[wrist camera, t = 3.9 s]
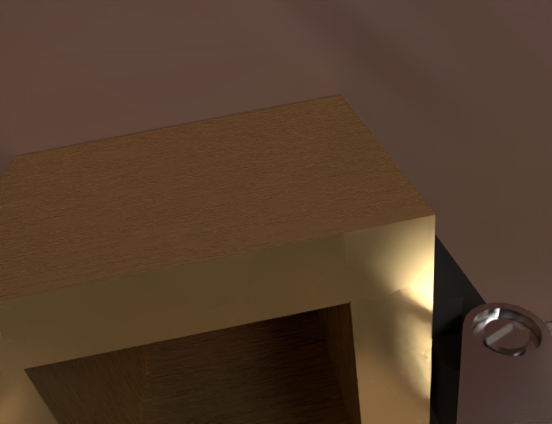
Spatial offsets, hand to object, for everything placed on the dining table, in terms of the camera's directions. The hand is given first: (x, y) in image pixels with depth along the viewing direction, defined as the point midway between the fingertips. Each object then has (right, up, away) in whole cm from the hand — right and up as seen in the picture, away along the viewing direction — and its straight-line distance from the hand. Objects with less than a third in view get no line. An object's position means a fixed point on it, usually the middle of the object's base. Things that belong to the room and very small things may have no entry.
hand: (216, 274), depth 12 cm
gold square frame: (0, 0, +1) cm, 1 cm away
